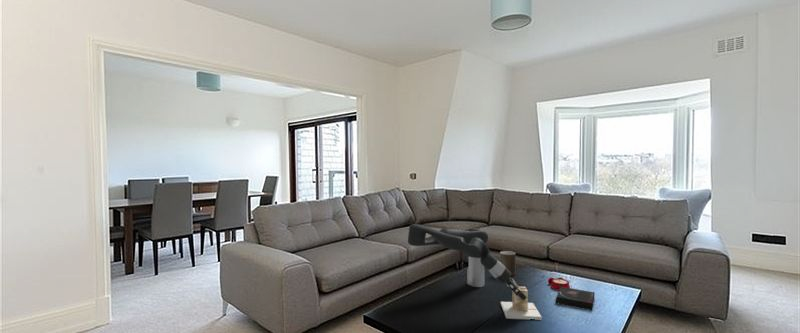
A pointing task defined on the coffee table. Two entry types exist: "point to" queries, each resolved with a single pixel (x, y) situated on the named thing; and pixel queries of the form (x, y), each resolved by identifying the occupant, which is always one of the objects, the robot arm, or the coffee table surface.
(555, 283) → the alarm clock
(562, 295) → the portable cd player
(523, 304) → the beige wooden tall block
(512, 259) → the pillar candle
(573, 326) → the coffee table surface
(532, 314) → the plate
